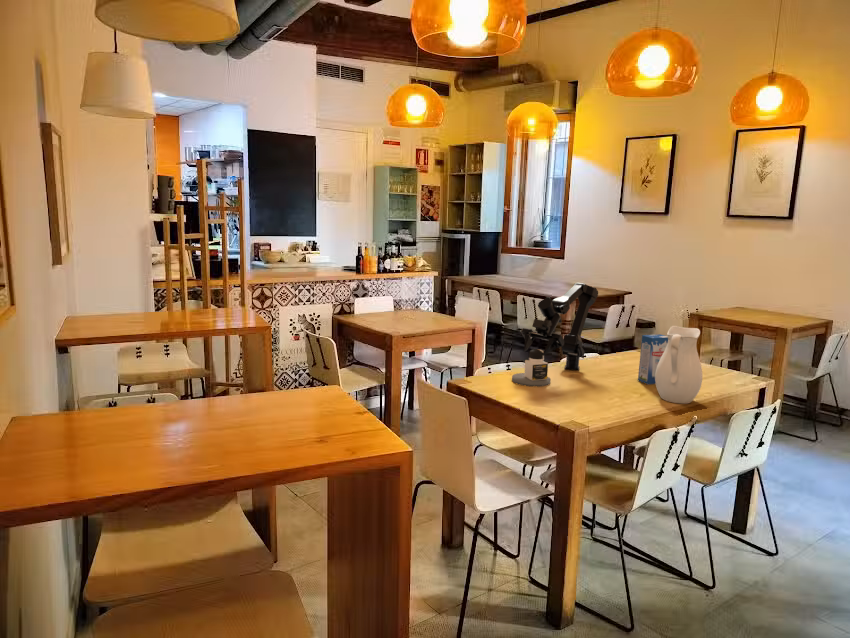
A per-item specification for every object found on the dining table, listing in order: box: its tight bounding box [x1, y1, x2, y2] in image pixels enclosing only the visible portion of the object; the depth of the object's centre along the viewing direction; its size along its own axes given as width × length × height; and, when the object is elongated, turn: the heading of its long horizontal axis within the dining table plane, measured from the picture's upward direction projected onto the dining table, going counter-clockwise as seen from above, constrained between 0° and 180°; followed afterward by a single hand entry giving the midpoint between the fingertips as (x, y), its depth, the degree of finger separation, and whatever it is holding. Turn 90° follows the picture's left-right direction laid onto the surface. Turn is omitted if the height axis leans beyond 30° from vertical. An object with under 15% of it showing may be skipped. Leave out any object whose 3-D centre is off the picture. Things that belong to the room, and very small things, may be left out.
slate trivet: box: [511, 372, 551, 388], centre depth 264 cm, size 16×16×2 cm
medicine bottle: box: [523, 348, 549, 381], centre depth 262 cm, size 7×7×12 cm
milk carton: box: [637, 334, 668, 385], centre depth 269 cm, size 10×6×20 cm, turn 111°
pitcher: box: [655, 325, 703, 405], centre depth 240 cm, size 24×17×28 cm
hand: (533, 353), depth 262 cm, fingers open, 9 cm apart
